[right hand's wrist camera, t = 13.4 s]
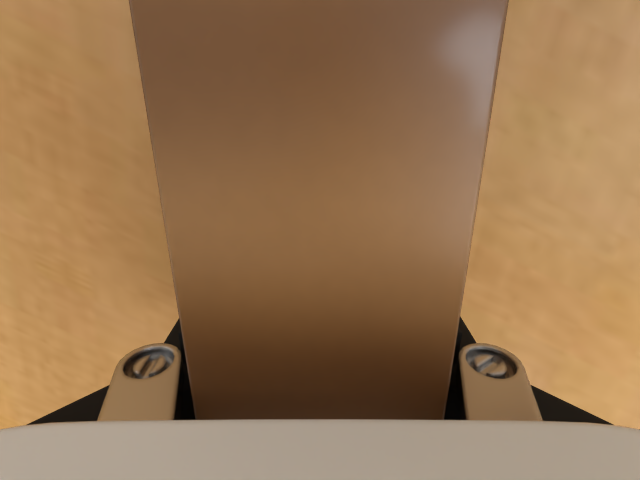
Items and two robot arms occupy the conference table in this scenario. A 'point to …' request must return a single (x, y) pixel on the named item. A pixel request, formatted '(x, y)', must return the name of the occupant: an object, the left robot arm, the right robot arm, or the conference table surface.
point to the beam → (319, 195)
